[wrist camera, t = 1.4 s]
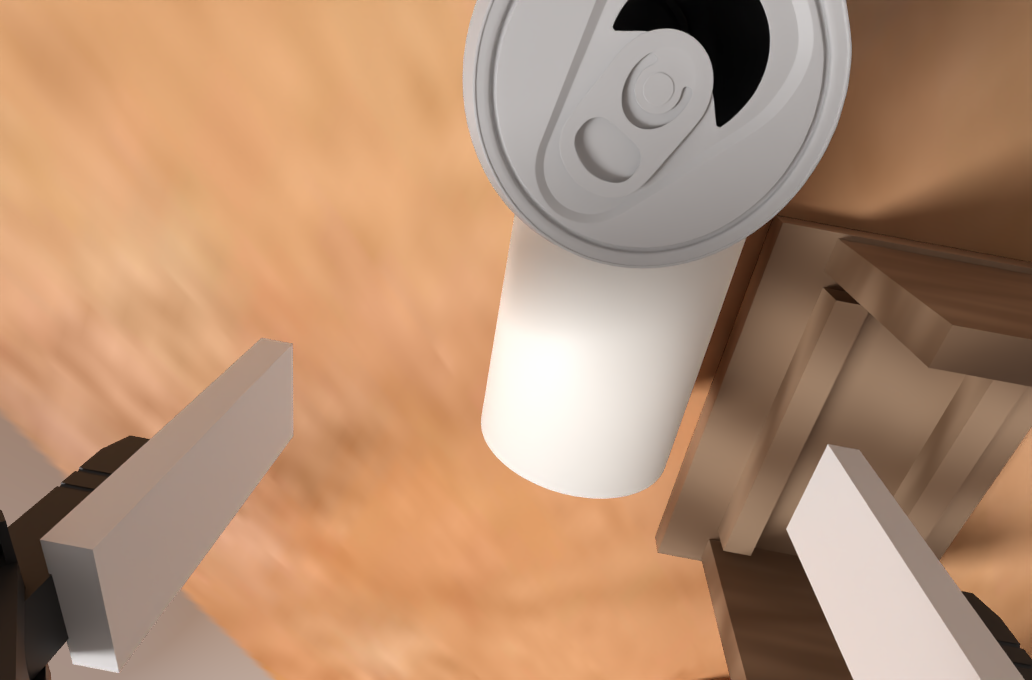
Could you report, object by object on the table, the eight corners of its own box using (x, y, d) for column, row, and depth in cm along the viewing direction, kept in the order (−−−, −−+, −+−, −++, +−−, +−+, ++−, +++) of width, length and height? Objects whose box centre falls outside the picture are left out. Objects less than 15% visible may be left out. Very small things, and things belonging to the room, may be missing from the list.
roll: (492, 154, 20) (578, 222, 14) (670, 172, 22) (804, 236, 16) (460, 387, 24) (516, 512, 18) (612, 380, 26) (703, 488, 21)
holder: (774, 214, 21) (873, 302, 14) (1105, 276, 21) (1373, 395, 14) (655, 536, 29) (681, 700, 21) (900, 583, 28) (1008, 763, 21)
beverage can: (755, 47, 19) (985, 54, 8) (618, 201, 22) (658, 357, 11) (606, -102, 18) (652, -321, 7) (478, 82, 20) (370, 128, 10)
